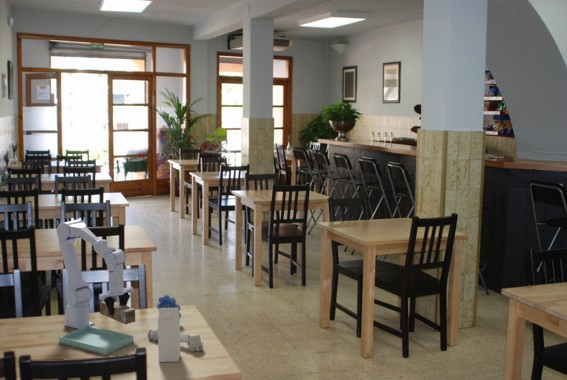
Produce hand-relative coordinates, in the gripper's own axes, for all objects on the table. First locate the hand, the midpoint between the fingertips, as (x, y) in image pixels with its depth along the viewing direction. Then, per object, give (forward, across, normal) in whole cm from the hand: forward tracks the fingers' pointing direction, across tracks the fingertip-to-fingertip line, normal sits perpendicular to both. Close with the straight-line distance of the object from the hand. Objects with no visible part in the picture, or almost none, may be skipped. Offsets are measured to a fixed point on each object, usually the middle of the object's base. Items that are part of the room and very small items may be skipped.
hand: (117, 313), depth 255 cm
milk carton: (+9, -1, -35) cm, 36 cm away
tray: (+8, -11, -3) cm, 14 cm away
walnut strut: (+2, 0, 0) cm, 2 cm away
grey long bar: (+9, +9, -26) cm, 29 cm away
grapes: (+9, +21, -5) cm, 24 cm away
